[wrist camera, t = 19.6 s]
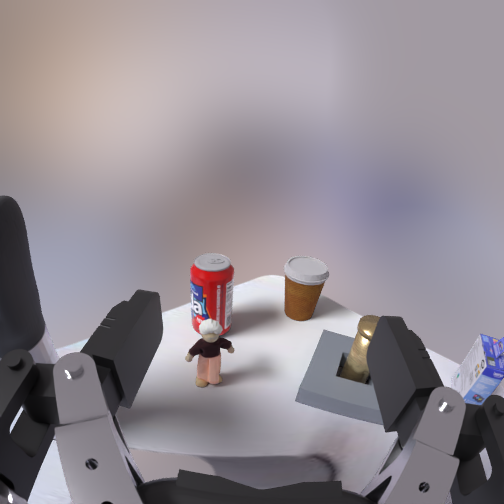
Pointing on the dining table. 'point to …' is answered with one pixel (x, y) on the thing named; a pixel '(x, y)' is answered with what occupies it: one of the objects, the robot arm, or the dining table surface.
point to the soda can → (212, 290)
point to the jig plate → (337, 382)
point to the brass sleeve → (360, 351)
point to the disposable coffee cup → (303, 286)
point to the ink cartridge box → (480, 370)
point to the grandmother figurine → (209, 353)
